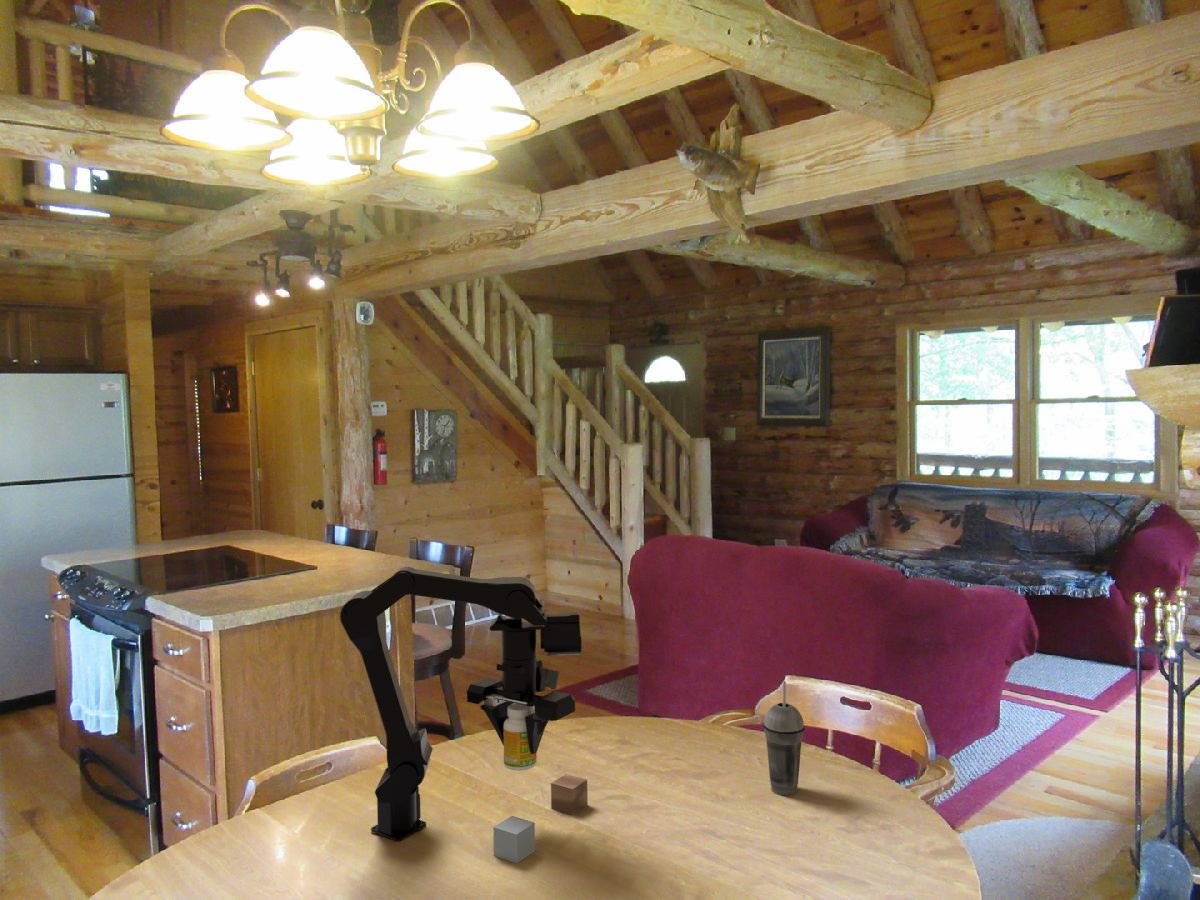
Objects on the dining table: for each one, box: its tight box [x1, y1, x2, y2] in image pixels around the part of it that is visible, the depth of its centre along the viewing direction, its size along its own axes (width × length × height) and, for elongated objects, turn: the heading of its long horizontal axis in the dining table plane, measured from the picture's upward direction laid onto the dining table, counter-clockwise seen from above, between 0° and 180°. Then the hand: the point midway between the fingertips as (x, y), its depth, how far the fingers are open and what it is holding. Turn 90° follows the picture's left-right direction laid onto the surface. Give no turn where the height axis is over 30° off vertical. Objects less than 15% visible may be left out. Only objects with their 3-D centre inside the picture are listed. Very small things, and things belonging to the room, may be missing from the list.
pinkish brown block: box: [550, 773, 589, 816], centre depth 147 cm, size 4×4×4 cm
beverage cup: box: [762, 680, 806, 797], centre depth 153 cm, size 7×7×20 cm
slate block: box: [492, 815, 536, 864], centre depth 132 cm, size 4×4×4 cm
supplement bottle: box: [503, 703, 538, 772], centre depth 141 cm, size 5×5×10 cm
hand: (520, 749), depth 141 cm, fingers closed on supplement bottle, 5 cm apart
